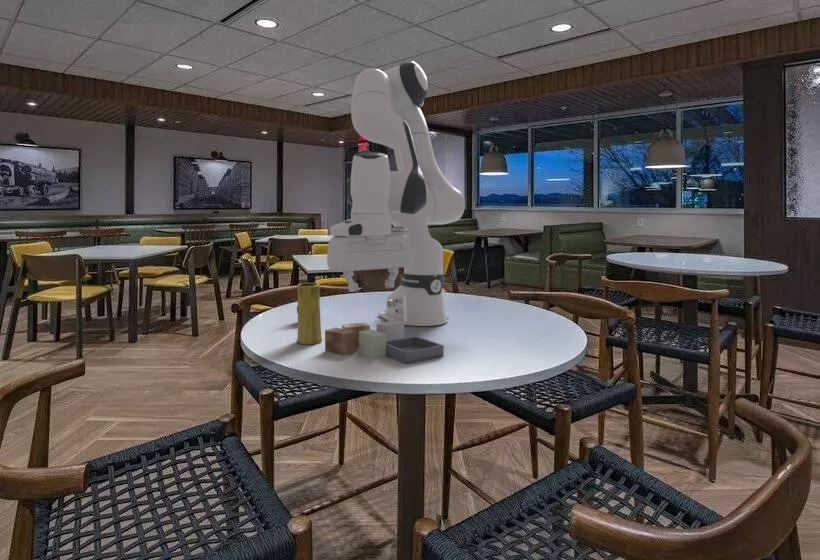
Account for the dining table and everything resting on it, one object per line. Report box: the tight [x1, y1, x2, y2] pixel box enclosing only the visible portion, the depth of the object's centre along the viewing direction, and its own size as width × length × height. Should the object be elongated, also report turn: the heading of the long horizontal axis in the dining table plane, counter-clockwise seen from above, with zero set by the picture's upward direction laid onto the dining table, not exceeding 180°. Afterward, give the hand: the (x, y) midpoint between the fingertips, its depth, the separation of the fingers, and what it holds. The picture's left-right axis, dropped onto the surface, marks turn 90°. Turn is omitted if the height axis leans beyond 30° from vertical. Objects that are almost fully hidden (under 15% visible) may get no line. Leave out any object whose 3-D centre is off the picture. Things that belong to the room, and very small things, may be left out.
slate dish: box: [385, 335, 445, 365], centre depth 117 cm, size 10×10×2 cm
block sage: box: [358, 328, 387, 359], centre depth 117 cm, size 6×4×5 cm, turn 37°
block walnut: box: [324, 327, 356, 356], centre depth 119 cm, size 6×4×5 cm, turn 57°
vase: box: [296, 282, 323, 346], centre depth 127 cm, size 6×6×14 cm
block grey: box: [376, 320, 405, 341], centre depth 127 cm, size 6×4×5 cm, turn 136°
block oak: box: [341, 322, 371, 348], centre depth 125 cm, size 6×4×5 cm, turn 111°
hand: (371, 289), depth 115 cm, fingers open, 8 cm apart
